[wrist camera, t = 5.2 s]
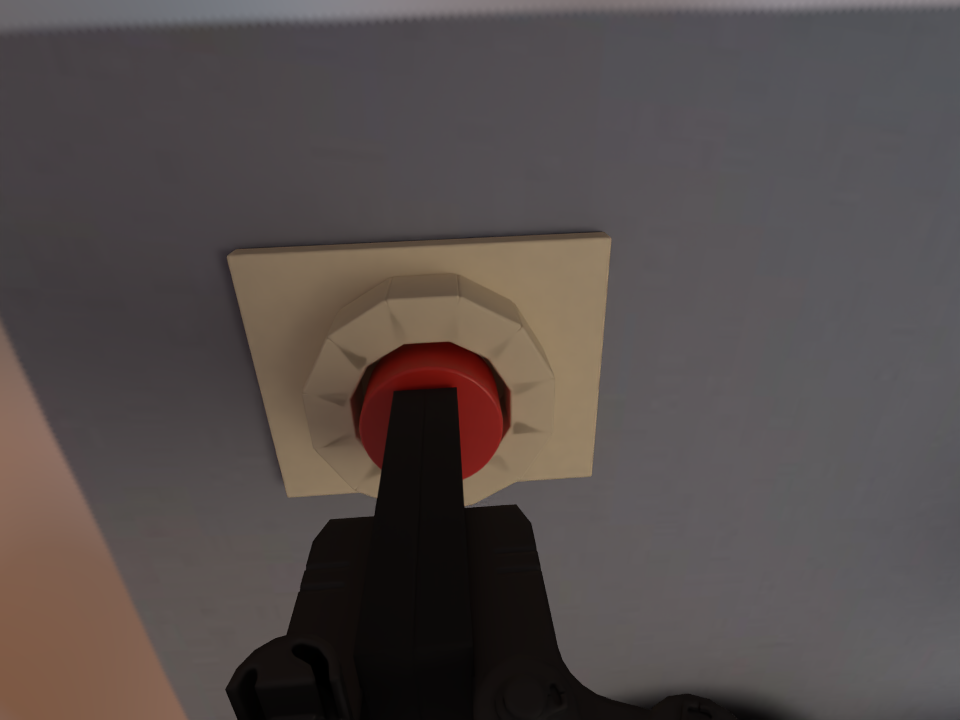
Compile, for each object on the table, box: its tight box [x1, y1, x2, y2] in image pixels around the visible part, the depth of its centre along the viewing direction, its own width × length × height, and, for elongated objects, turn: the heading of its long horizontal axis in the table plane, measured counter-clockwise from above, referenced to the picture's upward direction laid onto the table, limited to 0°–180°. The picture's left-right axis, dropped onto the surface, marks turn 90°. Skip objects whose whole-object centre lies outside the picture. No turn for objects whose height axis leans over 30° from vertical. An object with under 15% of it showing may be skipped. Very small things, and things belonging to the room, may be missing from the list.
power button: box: [359, 341, 503, 480], centre depth 14 cm, size 4×4×2 cm
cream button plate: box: [227, 232, 611, 506], centre depth 15 cm, size 10×8×2 cm
